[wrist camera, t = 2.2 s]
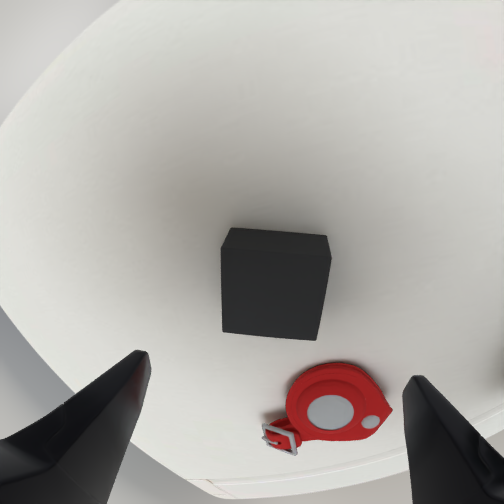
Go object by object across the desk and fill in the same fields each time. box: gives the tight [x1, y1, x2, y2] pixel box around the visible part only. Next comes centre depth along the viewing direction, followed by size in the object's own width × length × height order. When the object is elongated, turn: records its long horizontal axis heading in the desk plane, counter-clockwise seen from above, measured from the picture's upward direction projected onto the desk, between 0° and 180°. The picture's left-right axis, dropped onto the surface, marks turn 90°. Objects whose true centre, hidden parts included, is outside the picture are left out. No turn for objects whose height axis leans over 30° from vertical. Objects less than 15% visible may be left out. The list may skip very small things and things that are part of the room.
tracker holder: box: [262, 363, 393, 456], centre depth 25 cm, size 12×4×10 cm
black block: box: [221, 228, 332, 341], centre depth 19 cm, size 6×6×3 cm
